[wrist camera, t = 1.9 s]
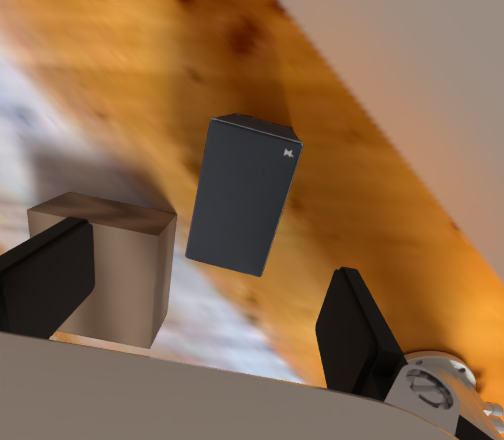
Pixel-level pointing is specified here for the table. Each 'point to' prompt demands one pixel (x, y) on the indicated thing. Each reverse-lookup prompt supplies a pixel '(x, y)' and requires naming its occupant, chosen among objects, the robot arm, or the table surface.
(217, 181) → the small box
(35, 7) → the table surface
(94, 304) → the walnut block
